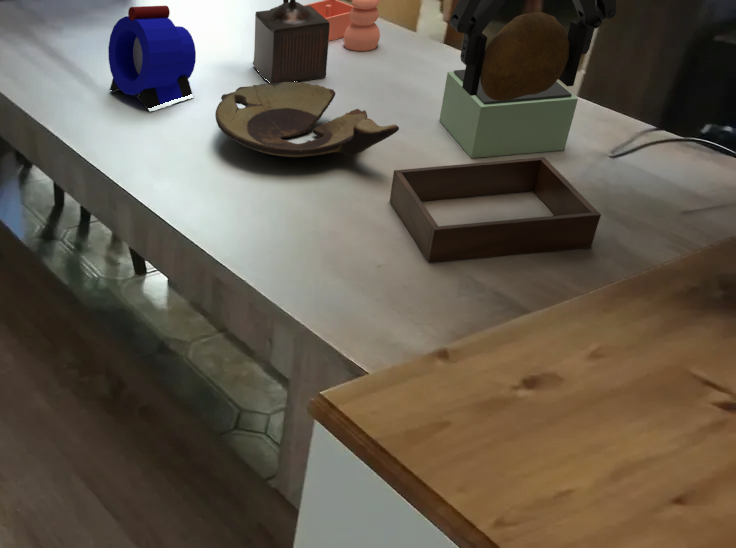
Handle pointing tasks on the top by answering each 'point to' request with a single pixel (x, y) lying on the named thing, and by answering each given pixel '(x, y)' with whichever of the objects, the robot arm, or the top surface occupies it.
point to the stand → (506, 119)
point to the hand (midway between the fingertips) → (517, 86)
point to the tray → (496, 237)
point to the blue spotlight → (151, 56)
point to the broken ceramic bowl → (294, 121)
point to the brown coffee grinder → (291, 43)
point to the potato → (524, 57)
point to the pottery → (351, 22)
